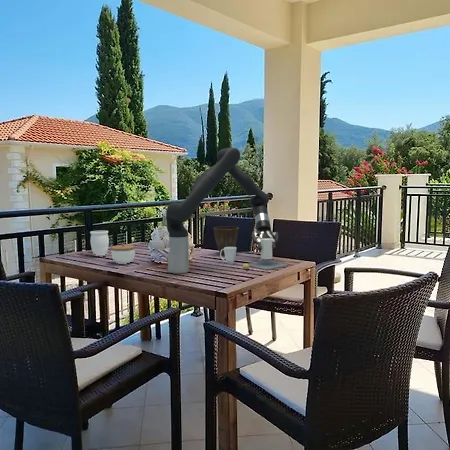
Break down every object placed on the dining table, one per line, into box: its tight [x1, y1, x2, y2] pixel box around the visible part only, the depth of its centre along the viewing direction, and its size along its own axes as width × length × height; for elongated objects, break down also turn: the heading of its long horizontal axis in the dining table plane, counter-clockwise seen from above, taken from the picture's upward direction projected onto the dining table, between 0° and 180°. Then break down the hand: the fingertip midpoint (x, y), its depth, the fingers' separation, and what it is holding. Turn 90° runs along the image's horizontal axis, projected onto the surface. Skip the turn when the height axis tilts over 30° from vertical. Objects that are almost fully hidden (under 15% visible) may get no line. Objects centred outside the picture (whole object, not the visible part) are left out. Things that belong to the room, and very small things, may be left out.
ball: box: [242, 263, 250, 270], centre depth 207 cm, size 3×3×3 cm
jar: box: [89, 229, 110, 255], centre depth 248 cm, size 11×10×15 cm
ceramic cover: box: [260, 238, 273, 260], centre depth 215 cm, size 6×6×10 cm
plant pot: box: [213, 225, 240, 256], centre depth 250 cm, size 15×15×16 cm
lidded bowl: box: [110, 242, 136, 264], centre depth 227 cm, size 13×13×11 cm
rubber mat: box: [247, 259, 289, 271], centre depth 216 cm, size 16×16×1 cm
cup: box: [219, 246, 238, 264], centre depth 226 cm, size 7×10×8 cm
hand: (267, 249), depth 214 cm, fingers closed on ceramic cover, 6 cm apart
